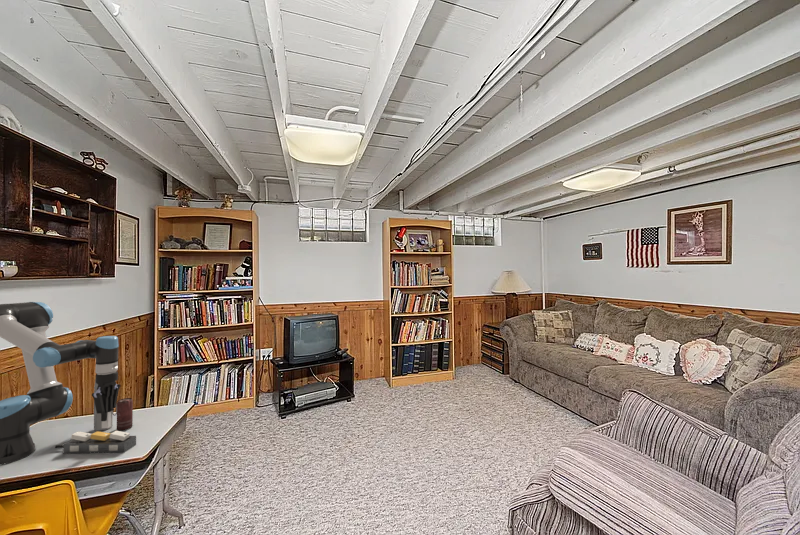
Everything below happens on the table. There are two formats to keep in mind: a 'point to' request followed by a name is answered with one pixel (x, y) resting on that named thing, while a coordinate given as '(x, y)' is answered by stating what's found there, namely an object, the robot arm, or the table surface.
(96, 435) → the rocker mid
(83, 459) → the table surface
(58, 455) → the table surface
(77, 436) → the rocker
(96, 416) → the water bottle
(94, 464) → the table surface
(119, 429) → the can
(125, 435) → the rocker
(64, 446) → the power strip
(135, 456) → the table surface
